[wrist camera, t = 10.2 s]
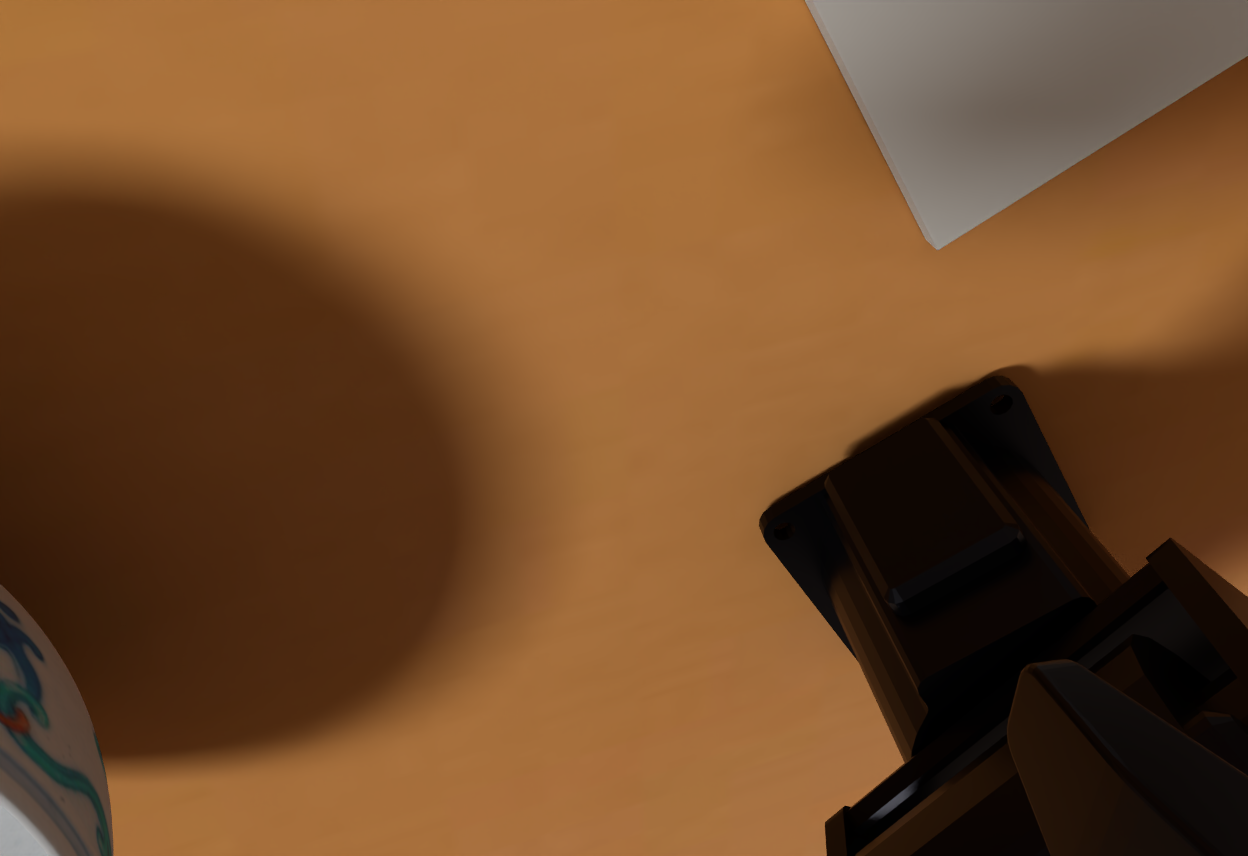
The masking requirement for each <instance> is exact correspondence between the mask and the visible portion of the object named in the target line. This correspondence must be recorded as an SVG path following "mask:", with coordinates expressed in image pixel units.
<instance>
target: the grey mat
mask: <svg viewBox="0 0 1248 856" xmlns="http://www.w3.org/2000/svg"><path fill="white" fill-rule="evenodd" d="M805 2H806V4H807V6H808V8H809V10H810V12H811V14H812V16H813V18H814V20H815V22H816V23H817V25H818V27H819V29H820V31H821V33H822V35H823V37H824V39H825V41H826V43H827V45H828V47H829V49H830V51H831V53H832V55H833V57H834V59H835V61H836V63H837V65H838V67H839V69H840V71H841V73H842V75H843V77H844V79H845V81H846V83H847V85H848V87H849V89H850V91H851V93H852V95H853V97H854V99H855V101H856V103H857V105H858V107H859V109H860V111H861V113H862V114H863V116H864V118H865V120H866V122H867V124H868V126H869V128H870V130H871V132H872V134H873V136H874V138H875V140H876V142H877V144H878V146H879V148H880V150H881V152H882V154H883V156H884V158H885V160H886V162H887V164H888V166H889V168H890V170H891V172H892V174H893V176H894V178H895V180H896V182H897V184H898V186H899V188H900V190H901V192H902V194H903V196H904V198H905V200H906V202H907V204H908V205H909V207H910V209H911V211H912V213H913V215H914V217H915V219H916V221H917V223H918V225H919V227H920V229H921V231H922V233H923V235H924V237H925V239H926V240H927V241H928V242H929V243H930V244H931V245H932V246H933V247H934V248H935V249H937V250H939V249H941V248H942V247H944V246H946V245H947V244H949V243H950V242H952V241H954V240H955V239H957V238H958V237H960V236H961V235H963V234H965V233H966V232H968V231H969V230H971V229H973V228H974V227H976V226H977V225H979V224H981V223H982V222H984V221H985V220H987V219H989V218H990V217H992V216H993V215H995V214H997V213H998V212H1000V211H1001V210H1003V209H1004V208H1006V207H1008V206H1009V205H1011V204H1012V203H1014V202H1016V201H1017V200H1019V199H1020V198H1022V197H1024V196H1025V195H1027V194H1028V193H1030V192H1032V191H1033V190H1035V189H1036V188H1038V187H1040V186H1041V185H1043V184H1044V183H1046V182H1048V181H1049V180H1051V179H1052V178H1054V177H1055V176H1057V175H1059V174H1060V173H1062V172H1063V171H1065V170H1067V169H1068V168H1070V167H1071V166H1073V165H1075V164H1076V163H1078V162H1079V161H1081V160H1083V159H1084V158H1086V157H1087V156H1089V155H1091V154H1092V153H1094V152H1095V151H1097V150H1099V149H1100V148H1102V147H1103V146H1105V145H1106V144H1108V143H1110V142H1111V141H1113V140H1114V139H1116V138H1118V137H1119V136H1121V135H1122V134H1124V133H1126V132H1127V131H1129V130H1130V129H1132V128H1134V127H1135V126H1137V125H1138V124H1140V123H1142V122H1143V121H1145V120H1146V119H1148V118H1149V117H1151V116H1153V115H1154V114H1156V113H1157V112H1159V111H1161V110H1162V109H1164V108H1165V107H1167V106H1169V105H1170V104H1172V103H1173V102H1175V101H1177V100H1178V99H1180V98H1181V97H1183V96H1185V95H1186V94H1188V93H1189V92H1191V91H1193V90H1194V89H1196V88H1197V87H1199V86H1200V85H1202V84H1204V83H1205V82H1207V81H1208V80H1210V79H1212V78H1213V77H1215V76H1216V75H1218V74H1220V73H1221V72H1223V71H1224V70H1226V69H1228V68H1229V67H1231V66H1232V65H1234V64H1236V63H1237V62H1239V61H1240V60H1242V59H1244V58H1245V57H1247V56H1248V0H805Z"/></svg>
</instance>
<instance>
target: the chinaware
mask: <svg viewBox="0 0 1248 856" xmlns="http://www.w3.org/2000/svg"><path fill="white" fill-rule="evenodd" d="M0 856H113V831H112V817H111V806H110V798H109V792H108V785H107V779H106V773H105V768H104V764H103V759H102V755H101V751H100V747H99V743H98V740H97V737H96V734H95V730H94V727H93V724H92V721H91V718H90V716H89V713H88V711H87V708H86V705H85V703H84V701H83V698H82V696H81V694H80V692H79V690H78V688H77V686H76V683H75V682H74V680H73V678H72V676H71V674H70V672H69V670H68V669H67V667H66V665H65V663H64V662H63V660H62V658H61V657H60V655H59V654H58V652H57V650H56V649H55V647H54V646H53V645H52V643H51V642H50V640H49V639H48V637H47V636H46V635H45V633H44V632H43V631H42V629H41V628H40V627H39V625H38V624H37V623H36V622H35V620H34V619H33V618H32V617H31V616H30V614H29V613H28V612H27V611H26V610H25V609H24V607H23V606H22V605H21V604H20V603H19V602H18V601H17V600H16V599H15V598H14V597H13V596H12V595H11V594H10V593H9V592H8V591H7V590H6V589H5V588H4V587H3V586H2V585H1V584H0Z"/></svg>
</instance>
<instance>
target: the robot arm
mask: <svg viewBox="0 0 1248 856" xmlns="http://www.w3.org/2000/svg"><path fill="white" fill-rule="evenodd" d="M1000 395H1004V396H1003V398H1002V400H1001V401H1000V402H998V403H997V404H994V405H992V406H991V403H992V401H993V400H994V399H995V398H996V397H998V396H1000ZM782 523H789V524H788V525H787V526H786V527H785V528H782V529H780V530H779V529H775V528H776V527H777V526H778V525H779V524H782ZM759 527H760V529H761V532H762V534H763V537H764V539H765V542H766V543H767V544H768V546H769V547H770V548H771V550H772V551H773V552H774V553H775V555H776V556H777V557H778V559H779V560H780V561H781V563H782V564H783V565H784V566H785V568H786V569H787V570H788V572H789V573H790V574H791V575H792V577H793V578H794V579H795V581H796V582H797V583H798V584H799V586H800V587H801V588H802V590H803V591H804V592H805V594H806V595H807V596H808V597H809V599H810V600H811V601H812V603H813V604H814V605H815V606H816V608H817V609H818V610H819V612H820V613H821V614H822V615H823V617H824V618H825V619H826V621H827V622H828V623H829V625H830V626H831V627H832V628H833V630H834V631H835V632H836V634H837V635H838V636H839V637H840V639H841V640H842V641H843V643H844V644H845V645H846V646H847V648H848V649H849V650H850V652H851V653H852V654H853V656H854V657H855V658H856V659H857V661H858V662H859V664H860V666H861V668H862V671H863V673H864V675H865V677H866V679H867V681H868V684H869V686H870V688H871V690H872V692H873V695H874V697H875V699H876V701H877V703H878V705H879V708H880V710H881V712H882V714H883V716H884V719H885V721H886V723H887V725H888V727H889V729H890V732H891V734H892V736H893V738H894V740H895V742H896V745H897V747H898V749H899V751H900V753H901V756H902V758H903V760H904V762H905V763H904V764H903V765H902V766H901V767H899V768H898V769H897V770H896V771H895V772H893V773H892V774H891V775H890V776H889V777H887V778H886V779H885V780H884V781H882V782H881V783H880V784H879V785H878V786H876V787H875V788H874V789H873V790H871V791H870V792H869V793H868V794H867V795H865V796H864V797H863V798H862V799H861V800H859V801H858V802H857V803H856V804H854V805H853V806H852V807H849V806H844V807H843V808H842V809H841V810H839V811H838V812H837V813H836V814H834V815H833V816H832V817H831V818H830V819H828V820H827V821H826V822H825V834H826V849H827V856H1248V597H1247V596H1246V595H1244V594H1243V593H1242V592H1240V591H1239V590H1238V589H1237V588H1235V587H1234V586H1233V585H1231V584H1230V583H1229V582H1227V581H1226V580H1225V579H1224V578H1222V577H1221V576H1220V575H1218V574H1217V573H1216V572H1215V571H1213V570H1212V569H1211V568H1209V567H1208V566H1207V565H1206V564H1204V563H1203V562H1202V561H1200V560H1199V559H1198V558H1197V557H1195V556H1194V555H1193V554H1191V553H1190V552H1189V551H1188V550H1186V549H1185V548H1184V547H1182V546H1181V545H1180V544H1179V543H1177V542H1176V541H1175V540H1173V539H1172V538H1169V539H1168V540H1167V541H1166V542H1164V543H1163V544H1162V545H1161V546H1159V547H1158V548H1157V549H1156V550H1155V551H1153V552H1152V553H1151V554H1150V555H1149V556H1147V557H1146V559H1147V561H1148V562H1149V563H1148V564H1147V565H1145V566H1144V567H1143V568H1142V569H1141V570H1139V571H1138V572H1137V573H1136V574H1134V575H1133V576H1132V577H1131V578H1130V576H1129V575H1128V574H1127V573H1126V572H1125V571H1124V569H1123V568H1122V567H1121V566H1120V565H1119V564H1118V562H1117V561H1116V560H1115V559H1114V558H1113V557H1112V556H1111V554H1110V553H1109V552H1108V551H1107V550H1106V549H1105V547H1104V546H1103V545H1102V544H1101V543H1100V542H1099V540H1098V539H1097V538H1096V537H1095V536H1094V535H1093V534H1092V532H1091V531H1090V530H1089V527H1088V525H1087V523H1086V521H1085V519H1084V517H1083V515H1082V513H1081V511H1080V509H1079V507H1078V505H1077V503H1076V501H1075V499H1074V497H1073V495H1072V493H1071V491H1070V489H1069V487H1068V485H1067V483H1066V481H1065V479H1064V477H1063V475H1062V472H1061V470H1060V468H1059V466H1058V464H1057V462H1056V460H1055V458H1054V456H1053V454H1052V452H1051V450H1050V448H1049V446H1048V444H1047V442H1046V440H1045V438H1044V436H1043V434H1042V432H1041V430H1040V428H1039V426H1038V424H1037V422H1036V420H1035V417H1034V415H1033V413H1032V411H1031V409H1030V407H1029V405H1028V403H1027V401H1026V399H1025V397H1024V395H1023V393H1022V392H1021V391H1020V389H1019V388H1018V387H1017V386H1016V385H1015V384H1014V383H1013V382H1012V381H1011V380H1010V379H1009V378H1006V377H1004V376H994V377H991V378H989V379H986V380H984V381H983V382H981V383H979V384H977V385H976V386H974V387H972V388H971V389H969V390H967V391H966V392H964V393H962V394H961V395H959V396H957V397H955V398H954V399H952V400H950V401H949V402H947V403H945V404H944V405H942V406H940V407H939V408H937V409H935V410H933V411H932V412H930V413H928V414H927V415H925V416H923V417H922V418H920V419H918V420H917V421H915V422H913V423H912V424H910V425H908V426H906V427H905V428H903V429H901V430H900V431H898V432H896V433H895V434H893V435H891V436H890V437H888V438H886V439H884V440H883V441H881V442H879V443H878V444H876V445H874V446H873V447H871V448H869V449H868V450H866V451H864V452H862V453H861V454H859V455H857V456H856V457H854V458H852V459H851V460H849V461H847V462H846V463H844V464H842V465H841V466H839V467H837V468H835V469H834V470H832V471H830V472H829V473H827V474H825V475H824V476H822V477H820V478H819V479H817V480H815V481H813V482H812V483H810V484H808V485H807V486H805V487H803V488H802V489H800V490H798V491H797V492H795V493H793V494H791V495H790V496H788V497H786V498H785V499H783V500H781V501H780V502H778V503H776V504H775V505H773V506H771V507H770V508H768V509H767V510H766V511H765V512H764V513H763V514H762V516H761V518H760V521H759Z"/></svg>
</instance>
